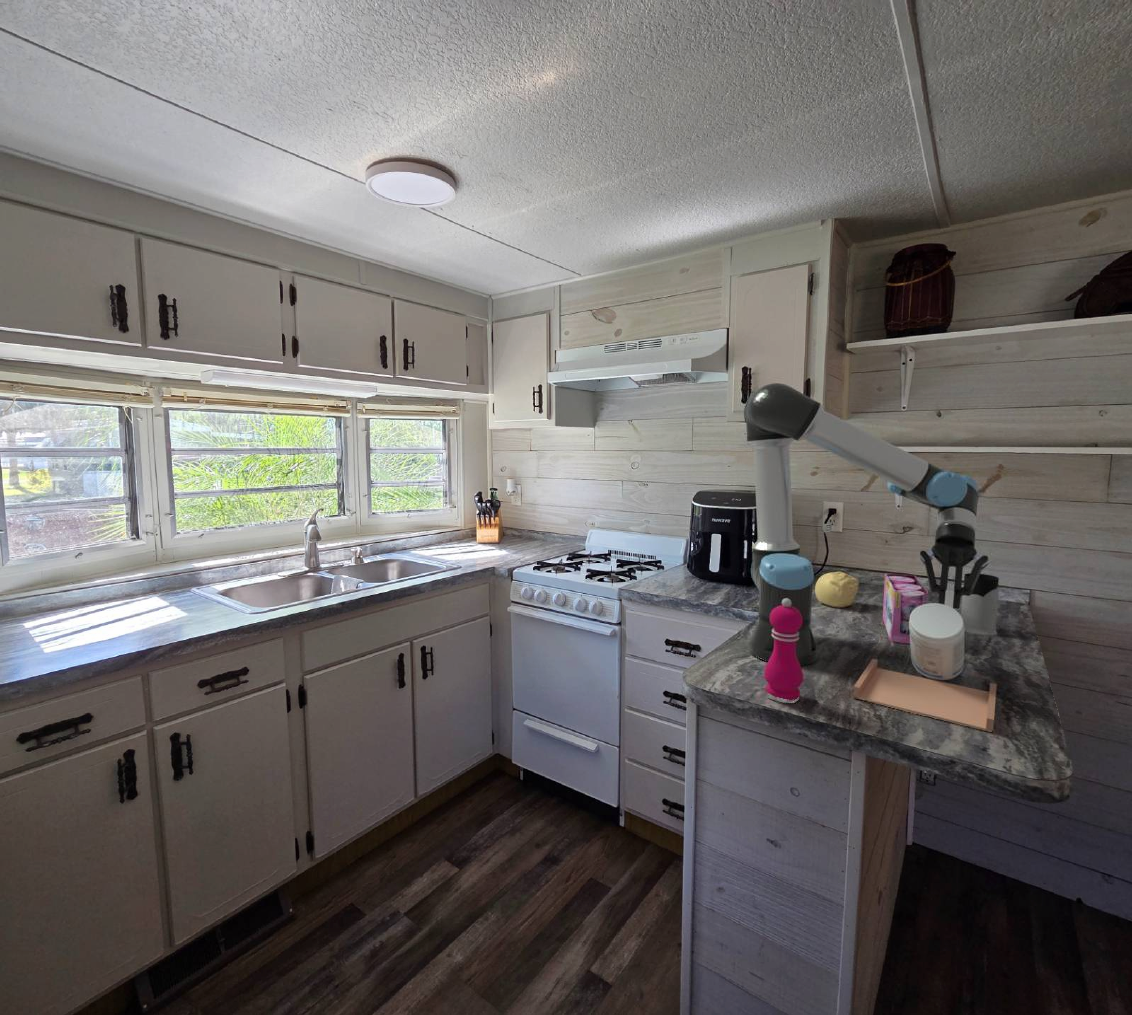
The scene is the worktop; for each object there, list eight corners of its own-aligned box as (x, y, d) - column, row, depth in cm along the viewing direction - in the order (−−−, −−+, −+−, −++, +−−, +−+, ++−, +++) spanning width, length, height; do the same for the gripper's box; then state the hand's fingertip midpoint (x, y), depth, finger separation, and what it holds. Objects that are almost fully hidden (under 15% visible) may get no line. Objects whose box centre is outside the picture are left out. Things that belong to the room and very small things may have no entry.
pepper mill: (802, 707, 107) (807, 605, 105) (762, 701, 109) (766, 601, 107) (801, 692, 113) (806, 595, 111) (764, 687, 116) (767, 592, 114)
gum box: (927, 648, 139) (930, 594, 138) (890, 643, 143) (893, 591, 141) (913, 621, 161) (916, 575, 160) (881, 618, 164) (884, 572, 163)
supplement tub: (946, 640, 125) (947, 596, 117) (974, 675, 117) (977, 630, 109) (901, 652, 127) (899, 609, 119) (926, 687, 119) (925, 644, 111)
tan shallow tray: (872, 669, 125) (872, 658, 125) (995, 696, 112) (996, 684, 112) (853, 698, 111) (853, 686, 110) (992, 733, 97) (994, 719, 97)
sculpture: (844, 612, 170) (846, 577, 169) (807, 603, 180) (809, 570, 179) (863, 606, 177) (865, 572, 176) (826, 598, 186) (828, 566, 185)
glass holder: (989, 637, 147) (993, 581, 146) (930, 623, 159) (933, 571, 157) (1002, 631, 152) (1007, 577, 150) (944, 618, 164) (948, 568, 162)
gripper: (989, 544, 129) (985, 633, 117) (923, 539, 137) (912, 623, 125) (991, 523, 124) (986, 614, 112) (921, 520, 132) (910, 605, 120)
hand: (947, 619), depth 119 cm, fingers closed
